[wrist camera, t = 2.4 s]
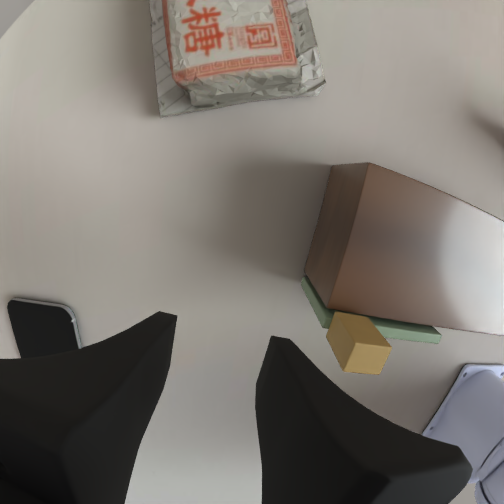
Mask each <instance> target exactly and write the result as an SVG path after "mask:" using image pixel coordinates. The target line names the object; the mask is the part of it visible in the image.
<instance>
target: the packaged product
mask: <svg viewBox="0 0 504 504" xmlns="http://www.w3.org/2000/svg"><path fill="white" fill-rule="evenodd" d="M149 5H150V12H151V16H152V22H151V30H152V45H153V53H154V64H155V76H156V85H157V94H158V104H159V110H160V117H161V118H163V117H168V116H173V115H178V114H184V113H189V112H195V111H201V110H207V109H214V108H220V107H225V106H230V105H235V104H240V103H246V102H252V101H261V100H270V99H281V98H293V97H308V96H317V95H318V94H319V93H320V91H321V90H322V88H323V87H324V86H325V84H326V81H325V77H324V74H323V70H322V64H321V60H320V56H319V51H318V46H317V42H316V39H315V35H314V31H313V27H312V22H311V19H310V16H309V10H308V8H307V4H306V0H149Z"/></svg>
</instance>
